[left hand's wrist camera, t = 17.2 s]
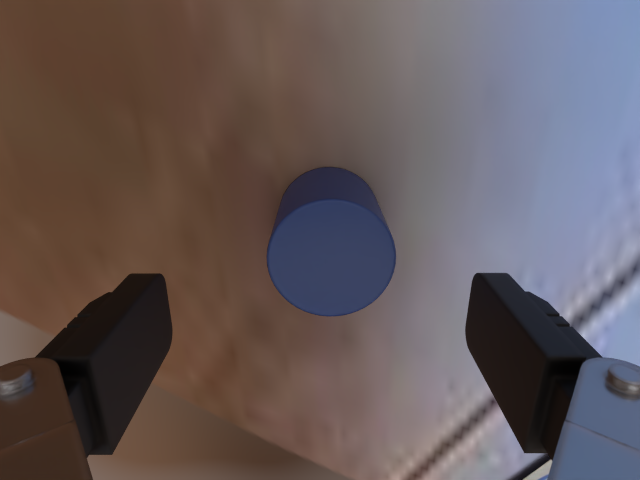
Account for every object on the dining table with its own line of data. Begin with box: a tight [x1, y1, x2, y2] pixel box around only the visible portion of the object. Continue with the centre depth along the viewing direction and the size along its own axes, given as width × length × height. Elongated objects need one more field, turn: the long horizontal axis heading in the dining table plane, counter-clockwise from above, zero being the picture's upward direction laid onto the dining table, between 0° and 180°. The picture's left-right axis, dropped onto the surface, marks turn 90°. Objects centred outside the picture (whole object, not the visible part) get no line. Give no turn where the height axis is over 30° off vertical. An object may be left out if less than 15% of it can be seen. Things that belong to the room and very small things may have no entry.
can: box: [267, 167, 396, 316], centre depth 16 cm, size 4×4×5 cm
